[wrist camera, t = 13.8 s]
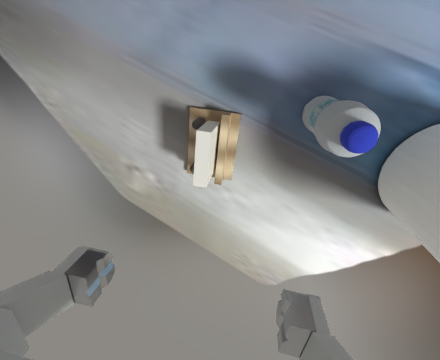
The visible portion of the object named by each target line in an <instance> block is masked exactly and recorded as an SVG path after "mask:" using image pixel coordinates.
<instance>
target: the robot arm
mask: <svg viewBox="0 0 440 360" xmlns="http://www.w3.org/2000/svg"><path fill="white" fill-rule="evenodd" d="M112 259H113V253H111V252H107V251H103V250H99V249H95V248H90V247H86V246H80V247H78V248H77V249H76V250H75V251H74V252H73V253H71V254H70V255H69V256H68V257H67V258H66V259H65V260H64V261H63V262H62V263H61V264H60V265H58V266H57V268H55V269H54V270H53V271H47V272H45V273H43V274H40V275H38V276H36V277H34V278H31V279H29V280H27V281H24V282H22V283H20V284H17V285H15V286H13V287H10V288H8V289H6V290H3V291H1V292H0V360H33V359H29V358H26V357H23V356H24V355H25V353H26V352H27V351H28V350H29V345H28V343H27V341H26V339H25V337H26V336H27V335H29V334H30V333H31V332H33V331H34V330H36V329H38V328H39V327H41V326H42V325H44V324H45V323H47V322H48V321H50V320H51V319H53V318H54V317H56V316H57V315H58V314H60V313H62V312H63V311H65V310H66V309H67V308H69V307H71V306H72V305H74V303H77V304H82V305H87V306H93V305H94V303H95V302H96V301H97V299H98V298H99V296H100V295H101V294H102V288H104V287H105V286H107V285H108V284H109V283H110V281H111V280H112V277H113V275H114V272H115V265H114V264H113V263H112V262H111V261H112ZM276 322H277V325H278V327H279V332H278V334H277V337H278V350H279V352H280V353H284V354H287V355H291V356H295V357H298V358H300V360H353V359H352V357H351V356H350V355H349V354H348V352H346V350H345V349H344V347H343V346H342V345H341V344H340V343H339V341H338V340H337V339H336V338H335V337H334V336H331V335H330V331H329V327H328V324H327V320H326V317H325V313H324V310H323V306H322V303H321V299H320V297H319V296H314V295H310V294H306V293H301V292H296V291H291V290H286V289H283V291H282V293H281V300H280V301H279V302H278V305H277V312H276Z"/></svg>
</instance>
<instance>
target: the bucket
mask: <svg viewBox="0 0 440 360" xmlns="http://www.w3.org/2000/svg"><path fill="white" fill-rule="evenodd" d="M378 190H379V196H380V198H381V200H382V202H383V204H384V205H385V206H386V207H387V209H388V210H389V211H390V212H391V213H392V214H393V215H394V216H395V217H396V218H397V219H398V220H399V221H400V222H401V223H402V224H403V225H404V226H405V227H406V228H407V229H408V230H409V231H410V232H411V233H412V234H413V235H414V237H415V238H416V239H417V240H418V241H419V242H420V243H421V244H422V245H423V246H424V247H425V248H426V249H427V250H428V251H429V252H430V253H431V254H432V255H433V256H434V257H435V258H436V259H437V260H438V261H439V262H440V124H437V125H433V126H430V127H427V128H425V129H423V130H421V131H419V132H417V133H415V134H413V135H412V136H410V137H409V138H407V139H405V140H404V141H403V142H402V143H401V144H399V145H398V146H397V147H396V148H395V149H394V150H393V151H392V152H391V154H390V155H389V156H388V157H387V159H386V160H385V162H384V164H383V166H382V168H381V171H380V174H379V178H378Z"/></svg>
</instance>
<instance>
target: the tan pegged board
mask: <svg viewBox="0 0 440 360" xmlns="http://www.w3.org/2000/svg"><path fill="white" fill-rule="evenodd" d="M240 119H241V114H240V113H233V112H225V111H218V110H211V109H204V108H196V107H190V118H189V139H188V161H187V173H192V174H194V162H195V146H196V130H197V129H199V128H200V127H201V126H202V125H203V124H205V123H206V122H207V121H208V120H209V121H216V122H220V130H219V139H218V148H217V157H216V167H215V171H214V173H213V175H212V177H215V182H214V184H219V185H221V183H222V181H223V179H227V180H232V174H233V167H234V160H235V153H236V146H237V140H238V133H239V126H240Z"/></svg>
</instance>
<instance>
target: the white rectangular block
mask: <svg viewBox="0 0 440 360" xmlns="http://www.w3.org/2000/svg"><path fill="white" fill-rule="evenodd" d="M219 130H220V122H216V121H209V120H208V121H207V122H206V123H205V124H203V125H202V126H201V127H200V128H199V129H197V130H196V146H195V162H194V178H193V185H194V186H199V187H205V188H206V187H207V185H208V183H209V181H210V179H211V177H212V175H213V173H214V171H215V167H216V157H217V148H218V139H219Z"/></svg>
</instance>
